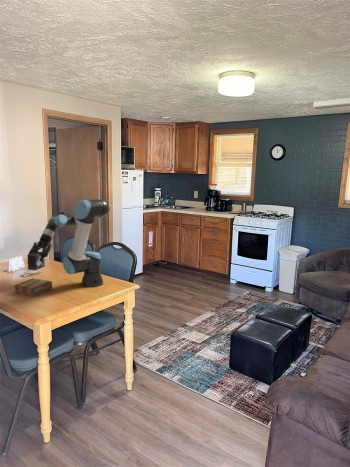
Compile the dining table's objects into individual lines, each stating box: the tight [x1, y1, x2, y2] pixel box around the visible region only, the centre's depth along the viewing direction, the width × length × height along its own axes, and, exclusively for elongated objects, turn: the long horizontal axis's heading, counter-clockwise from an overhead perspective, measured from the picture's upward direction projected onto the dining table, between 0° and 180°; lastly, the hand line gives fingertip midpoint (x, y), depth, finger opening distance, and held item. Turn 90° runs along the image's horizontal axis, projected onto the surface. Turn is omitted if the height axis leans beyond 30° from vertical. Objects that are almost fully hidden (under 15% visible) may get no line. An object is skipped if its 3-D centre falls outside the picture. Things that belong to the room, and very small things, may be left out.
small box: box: [27, 251, 46, 271], centre depth 233 cm, size 11×6×10 cm, turn 166°
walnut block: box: [14, 277, 53, 298], centre depth 224 cm, size 16×16×6 cm
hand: (32, 264), depth 229 cm, fingers closed on small box, 6 cm apart
